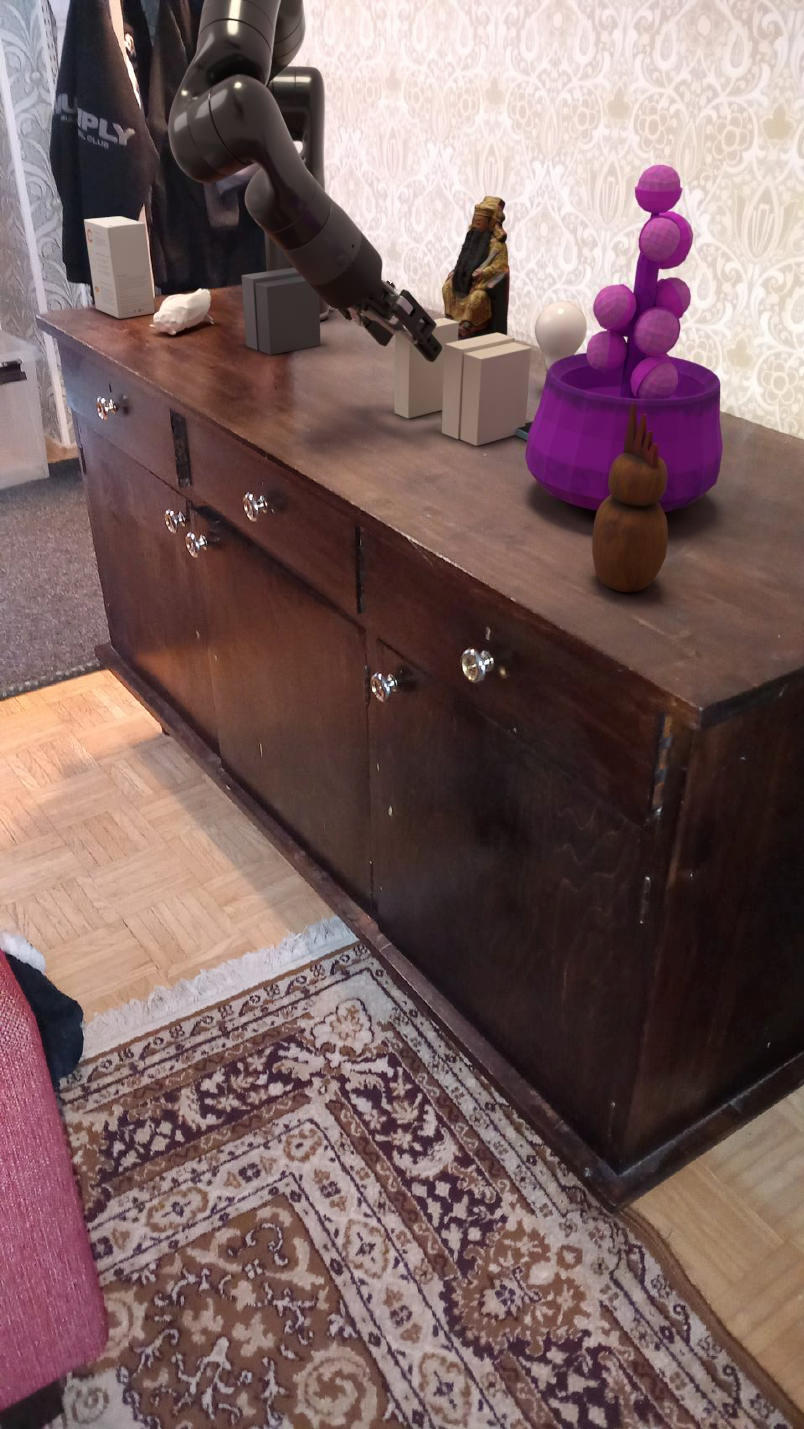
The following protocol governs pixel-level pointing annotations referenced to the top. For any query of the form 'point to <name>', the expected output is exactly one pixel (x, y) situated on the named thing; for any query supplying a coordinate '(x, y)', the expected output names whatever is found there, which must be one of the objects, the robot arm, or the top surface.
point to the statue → (480, 275)
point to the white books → (485, 388)
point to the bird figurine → (183, 311)
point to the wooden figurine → (632, 514)
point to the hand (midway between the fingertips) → (411, 347)
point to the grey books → (280, 311)
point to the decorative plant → (633, 377)
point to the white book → (421, 373)
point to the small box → (119, 266)
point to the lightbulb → (560, 331)
